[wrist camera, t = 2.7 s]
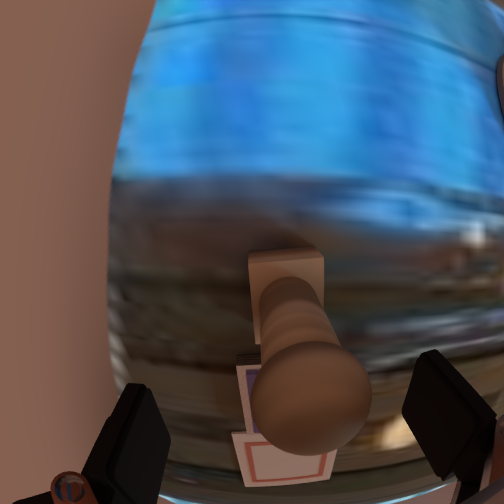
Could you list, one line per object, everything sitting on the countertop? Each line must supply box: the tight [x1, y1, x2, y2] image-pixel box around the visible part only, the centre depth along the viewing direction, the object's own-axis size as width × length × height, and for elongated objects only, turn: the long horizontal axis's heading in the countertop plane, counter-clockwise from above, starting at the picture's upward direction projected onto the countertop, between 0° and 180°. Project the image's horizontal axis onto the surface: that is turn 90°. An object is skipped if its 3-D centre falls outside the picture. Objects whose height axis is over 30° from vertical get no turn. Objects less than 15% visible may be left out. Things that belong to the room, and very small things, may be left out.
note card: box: [232, 431, 337, 487], centre depth 23 cm, size 12×10×1 cm
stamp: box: [248, 246, 372, 456], centre depth 12 cm, size 5×4×12 cm
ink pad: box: [236, 354, 261, 435], centre depth 19 cm, size 8×7×2 cm
